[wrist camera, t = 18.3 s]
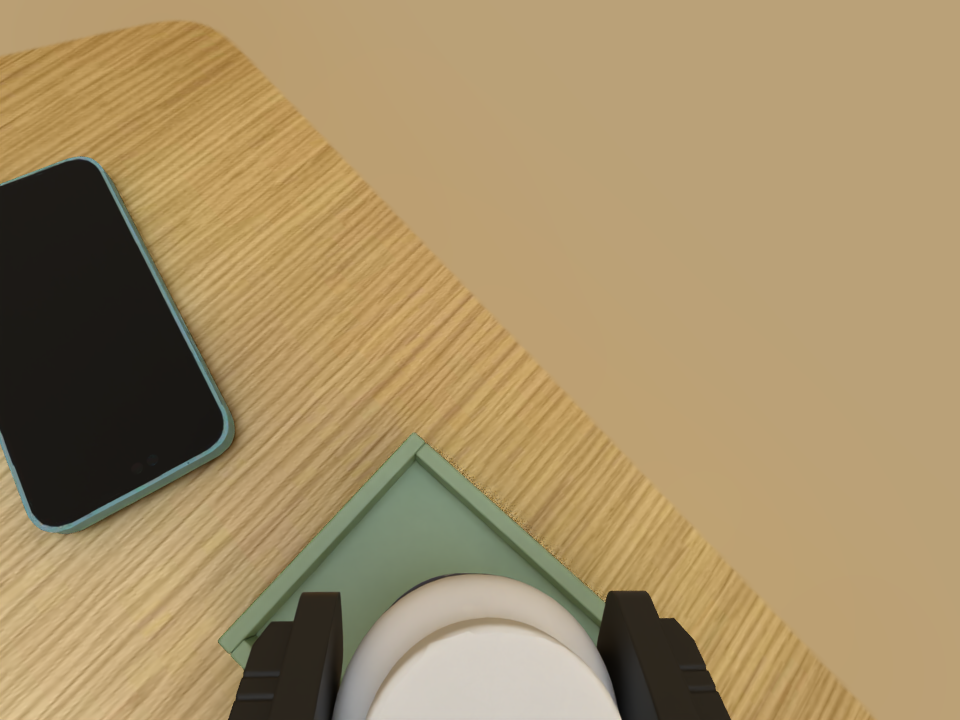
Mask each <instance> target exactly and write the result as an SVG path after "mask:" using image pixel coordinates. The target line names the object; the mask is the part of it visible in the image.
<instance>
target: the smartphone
mask: <svg viewBox="0 0 960 720" xmlns="http://www.w3.org/2000/svg"><path fill="white" fill-rule="evenodd" d="M234 435H235V426H234V421H233V418H232V415H231V413H230V411H229V409H228V407H227V405H226V403H225V401H224V399H223V397H222V395H221V393H220V391H219V389H218V387H217V385H216V383H215V381H214V379H213V377H212V376H211V374H210V372H209V370H208V368H207V366H206V364H205V362H204V360H203V358H202V356H201V354H200V352H199V350H198V348H197V346H196V344H195V342H194V340H193V338H192V336H191V335H190V332H189V330H188V328H187V326H186V325H185V323H184V321H183V319H182V317H181V315H180V313H179V311H178V309H177V307H176V305H175V303H174V301H173V299H172V297H171V295H170V293H169V292H168V290H167V288H166V286H165V284H164V282H163V280H162V278H161V276H160V274H159V272H158V270H157V268H156V266H155V264H154V262H153V260H152V258H151V256H150V254H149V252H148V250H147V248H146V246H145V244H144V242H143V240H142V238H141V236H140V234H139V232H138V230H137V228H136V226H135V224H134V222H133V221H132V219H131V217H130V215H129V213H128V211H127V209H126V207H125V205H124V203H123V201H122V199H121V197H120V195H119V193H118V191H117V189H116V187H115V185H114V183H113V181H112V180H111V178H110V177H109V176H108V174H107V173H106V172H105V171H104V169H103V168H102V167H101V166H100V165H99V164H98V163H97V162H96V161H95V160H93V159H91V158H88V157H81V156H80V157H73V158H69V159H66V160H63V161H61V162H58V163H55V164H53V165H50V166H47V167H45V168H42V169H39V170H37V171H34V172H31V173H29V174H26V175H23V176H21V177H18V178H15V179H13V180H10V181H7V182H5V183H2V184H0V444H1V447H2V449H3V452H4V455H5V457H6V460H7V463H8V465H9V468H10V471H11V473H12V476H13V479H14V481H15V484H16V487H17V489H18V492H19V495H20V497H21V500H22V503H23V505H24V508H25V511H26V513H27V515H28V517H29V518H30V520H31V521H32V522H33V524H35V525H36V526H37V527H38V528H40V529H41V530H43V531H47V532H53V533H61V534H70V533H74V532H78V531H81V530H83V529H85V528H87V527H89V526H91V525H93V524H94V523H96V522H98V521H100V520H102V519H104V518H106V517H107V516H109V515H111V514H113V513H115V512H117V511H119V510H121V509H122V508H124V507H126V506H128V505H130V504H132V503H134V502H136V501H137V500H139V499H141V498H143V497H145V496H147V495H149V494H150V493H152V492H154V491H156V490H158V489H160V488H161V487H163V486H165V485H167V484H169V483H171V482H172V481H174V480H176V479H178V478H180V477H181V476H183V475H185V474H187V473H189V472H191V471H192V470H194V469H196V468H198V467H200V466H201V465H203V464H205V463H207V462H209V461H211V460H212V459H214V458H216V457H218V456H220V455H221V454H222V453H223V452H224V451H225V450H226V449H227V448H228V447H229V446H230V445H231V443H232V441H233V438H234Z"/></svg>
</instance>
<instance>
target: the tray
mask: <svg viewBox="0 0 960 720" xmlns="http://www.w3.org/2000/svg"><path fill="white" fill-rule="evenodd" d="M454 573H477V574H491V575H497V576H504V577H508V578H511V579H514V580H517V581H520V582H523V583H525V584H528V585H530V586H532V587H534V588H536V589H538V590H540V591H541V592H543V593H545V594H546V595H548V596H550V597H551V598H553V599H554V600H555V601H556V602H558V603H559V604H560V605H561V606H562V607H564V608H565V609H566V610H567V611H568V612H569V613H570V614H571V615H572V616H573V617H574V618H575V619H576V620H577V621H578V623H579V624H580V625H581V626H582V627H583V628H584V630H585V631H586V633H587V634H588V636H589V637H590V638H591V640H592V641H593V643H594V645H595V646H596V648H597V640H598V635H599V630H600V626H601V621H602V616H603V612H604V607H605V602H604V601H603V600H602V599H601V598H599V597H598V596H597V595H596V594H595V593H594V592H593V591H592V590H590V589H589V588H588V587H587V586H586V585H585V584H584V583H583V582H582V581H580V580H579V579H578V578H577V577H576V576H575V575H574V574H573V573H572V572H570V571H569V570H568V569H567V568H566V567H565V566H564V565H563V564H561V563H560V562H559V561H558V560H557V559H556V558H555V557H554V556H553V555H551V554H550V553H549V552H548V551H547V550H546V549H545V548H544V547H542V546H541V545H540V544H539V543H538V542H537V541H536V540H535V539H534V538H532V537H531V536H530V535H529V534H528V533H527V532H526V531H525V530H523V529H522V528H521V527H520V526H519V525H518V524H517V523H516V522H515V521H513V520H512V519H511V518H510V517H509V516H508V515H507V514H506V513H504V512H503V511H502V510H501V509H500V508H499V507H498V506H497V505H496V504H494V503H493V502H492V501H491V500H490V499H489V498H488V497H487V496H485V495H484V494H483V493H482V492H481V491H480V490H479V489H478V488H477V487H475V486H474V485H473V484H472V483H471V482H470V481H469V480H468V479H466V478H465V477H464V476H463V475H462V474H461V473H460V472H459V471H458V470H456V469H455V468H454V467H453V466H452V465H451V464H450V463H449V462H447V461H446V460H445V459H444V458H443V457H442V456H441V455H440V454H439V453H437V452H436V451H435V450H434V449H433V448H432V447H431V446H430V445H428V444H427V443H425V441H424V440H423V439H422V438H421V437H420V436H418V435H417V434H416V433H412V434H411V435H410V436H409V437H408V438H407V439H406V441H405V442H404V443H403V444H402V445H401V446H400V447H399V448H398V449H397V450H396V451H395V452H394V453H393V454H392V455H391V456H390V458H389V459H388V460H387V461H386V462H385V463H384V464H383V465H382V466H381V467H380V468H379V469H378V470H377V471H376V472H375V474H374V475H373V476H372V477H371V478H370V479H369V480H368V481H367V482H366V483H365V484H364V485H363V486H362V487H361V488H360V489H359V491H358V492H357V493H356V494H355V495H354V496H353V497H352V498H351V499H350V500H349V501H348V502H347V503H346V504H345V505H344V506H343V508H342V509H341V510H340V511H339V512H338V513H337V514H336V515H335V516H334V517H333V518H332V519H331V520H330V521H329V522H328V524H327V525H326V526H325V527H324V528H323V529H322V530H321V531H320V532H319V533H318V534H317V535H316V536H315V537H314V538H313V539H312V541H311V542H310V543H309V544H308V545H307V546H306V547H305V548H304V549H303V550H302V551H301V552H300V553H299V554H298V555H297V557H296V558H295V559H294V560H293V561H292V562H291V563H290V564H289V565H288V566H287V567H286V568H285V569H284V570H283V571H282V572H281V574H280V575H279V576H278V577H277V578H276V579H275V580H274V581H273V582H272V583H271V584H270V585H269V586H268V587H267V588H266V589H265V591H264V592H263V593H262V594H261V595H260V596H259V597H258V598H257V599H256V600H255V601H254V602H253V603H252V604H251V605H250V607H249V608H248V609H247V610H246V611H245V612H244V613H243V614H242V615H241V616H240V617H239V618H238V619H237V620H236V621H235V622H234V624H233V625H232V626H231V627H230V628H229V629H228V630H227V631H226V632H225V633H224V634H223V635H222V636H221V637H220V638H219V640H218V643H219V644H220V645H221V646H222V647H223V648H224V649H225V650H226V651H227V653H229V654H230V653H231V657H232V658H233V659H234V660H235V661H236V662H237V663H238V664H239V665H240V666H241V667H242V668H243V669H245V666H246V663H247V660H248V657H249V654H250V651H251V648H252V645H253V644H254V643H255V641H256V640H257V639H258V638H259V636H260V635H261V634H262V632H263V631H264V630H265V629H266V627H267V626H268V625H269V624H270V622H271V621H294V617H295V613H296V609H297V606H298V602H299V598H300V596H301V593H302V592H340V593H341V605H342V626H343V664H342V674H341V681H342V679H343V676H344V674H345V671H346V669H347V666H348V664H349V662H350V661H351V659H352V657H353V655H354V653H355V651H356V649H357V648H358V646H359V645H360V643H361V641H362V639H363V638H364V637H365V635H366V634H367V633H368V631H369V630H370V629H371V627H372V626H373V625H374V623H375V622H376V621H377V620H378V619H379V618H380V617H381V615H382V614H383V613H384V612H385V611H386V610H387V609H388V608H389V607H390V606H391V605H392V604H393V603H394V602H395V601H396V600H397V599H398V598H399V597H401V596H402V595H403V594H404V593H405V592H407V591H408V590H410V589H411V588H413V587H414V586H416V585H418V584H419V583H421V582H423V581H426V580H428V579H431V578H433V577H437V576H441V575H446V574H454ZM341 681H340V684H341Z"/></svg>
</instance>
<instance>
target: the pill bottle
mask: <svg viewBox="0 0 960 720" xmlns="http://www.w3.org/2000/svg"><path fill="white" fill-rule="evenodd" d="M332 720H622V719H621V717H620V714H619V710H618V705H617V700H616V696H615V692H614V689H613V685H612V681H611V679H610V676H609V673H608V671H607V668H606V666H605V664H604V662H603V659H602V657H601V655H600V653H599V652H598V650H597V648H596V646H595V645H594V643H593V641H592V640H591V638H590V637H589V636H588V634H587V633H586V631H585V630H584V628H583V627H582V626H581V625H580V624H579V623H578V621H577V620H576V619H575V618H574V617H573V616H572V615H571V614H570V613H569V612H568V611H567V610H566V609H565V608H564V607H562V606H561V605H560V604H559V603H558V602H556V601H555V600H554V599H553V598H551V597H550V596H548V595H546V594H545V593H543V592H541V591H540V590H538V589H536V588H534V587H532V586H530V585H528V584H525V583H523V582H520V581H517V580H514V579H511V578H508V577H504V576H497V575H491V574H477V573H454V574H446V575H441V576H437V577H433V578H431V579H428V580H426V581H423V582H421V583H419V584H418V585H416V586H414V587H413V588H411V589H410V590H408V591H407V592H405V593H404V594H403V595H402V596H401V597H399V598H398V599H397V600H396V601H395V602H394V603H393V604H392V605H391V606H390V607H389V608H388V609H387V610H386V611H385V612H384V613H383V614H382V615H381V617H380V618H379V619H378V620H377V621H376V622H375V623H374V625H373V626H372V627H371V629H370V630H369V631H368V633H367V634H366V635H365V637H364V638H363V639H362V641H361V643H360V645H359V646H358V648H357V649H356V651H355V653H354V655H353V657H352V659H351V661H350V662H349V664H348V666H347V669H346V671H345V674H344V676H343V679H342V681H341V684H340V687H339V690H338V693H337V697H336V701H335V705H334V710H333V715H332Z"/></svg>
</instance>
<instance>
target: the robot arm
mask: <svg viewBox="0 0 960 720" xmlns="http://www.w3.org/2000/svg"><path fill="white" fill-rule="evenodd" d="M597 650H598V652H599V653H600V655H601V657H602V659H603V662H604V664H605V666H606V668H607V671H608V673H609V676H610V679H611V681H612V685H613V689H614V692H615V696H616V700H617V705H618V710H619V714H620V717H621V719H622V720H731V719H730V717H729V714H728V712H727V710H726V708H725V706H724V704H723V701H722V699H721V697H720V695H719V693H718V692H716V689H715V687H716V686H715V684H714V682H713V680H712V678H711V676H710V673H709V671H707V670H706V665H705V663H704V660H703V658H702V656H701V654H700V652H699V650H698V648H697V645H696V643H695V641H694V640H693V638H692V637H691V636H690V635H689V634H688V633H687V632H686V631H685V630H684V629H683V628H682V626H681V625H680V624H679V623H678V622H677V621H676V620H675V619H674V618H659V616H658V614H657V611H656V609H655V607H654V604H653V602H652V599H651V597H650V596H649V594H648V593H647V592H646V591H610V592H609V593H608V595H607V598H606V602H605V607H604V612H603V616H602V621H601V626H600V630H599V635H598V640H597ZM342 664H343V626H342V605H341V593H340V592H302V593H301V596H300V598H299V602H298V606H297V609H296V613H295V617H294V621H271V622H270V624H269V625H268V626H267V627H266V629H265V630H264V631H263V632H262V634H261V635H260V636H259V638H258V639H257V640H256V641H255V643H254V644H253V645H252V648H251V651H250V654H249V657H248V660H247V663H246V666H245V669H244V672H243V678H242V679H241V682H240V685H239V688H238V691H237V694H236V700H235V701H234V703H233V706H232V709H231V712H230V715H229V719H228V720H332V715H333V710H334V705H335V701H336V697H337V693H338V690H339V687H340V681H341V674H342Z"/></svg>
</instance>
